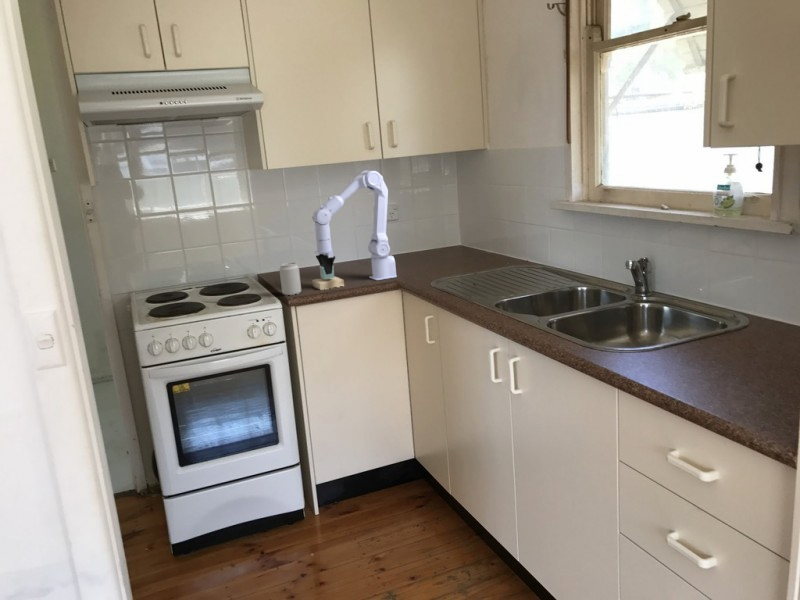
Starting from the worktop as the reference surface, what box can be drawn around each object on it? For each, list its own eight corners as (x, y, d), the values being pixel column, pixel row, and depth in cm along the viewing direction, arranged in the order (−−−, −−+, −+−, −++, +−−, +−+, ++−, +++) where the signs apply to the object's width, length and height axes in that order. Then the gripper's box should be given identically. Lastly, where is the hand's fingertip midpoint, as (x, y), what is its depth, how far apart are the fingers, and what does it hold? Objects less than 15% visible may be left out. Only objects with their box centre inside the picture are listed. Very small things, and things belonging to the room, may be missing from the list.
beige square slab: (336, 283, 273) (335, 276, 273) (344, 287, 265) (343, 280, 264) (312, 287, 270) (312, 279, 269) (320, 291, 261) (319, 283, 260)
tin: (331, 275, 269) (329, 263, 268) (334, 277, 265) (333, 265, 264) (320, 277, 267) (319, 265, 266) (324, 279, 263) (322, 266, 262)
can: (283, 296, 254) (279, 266, 251) (281, 293, 261) (277, 263, 258) (302, 294, 256) (299, 263, 253) (300, 290, 263) (296, 260, 260)
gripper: (308, 238, 267) (312, 271, 271) (319, 242, 254) (323, 277, 258) (325, 236, 270) (328, 269, 273) (336, 240, 257) (340, 274, 260)
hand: (327, 273), depth 266 cm, fingers closed on tin, 4 cm apart
